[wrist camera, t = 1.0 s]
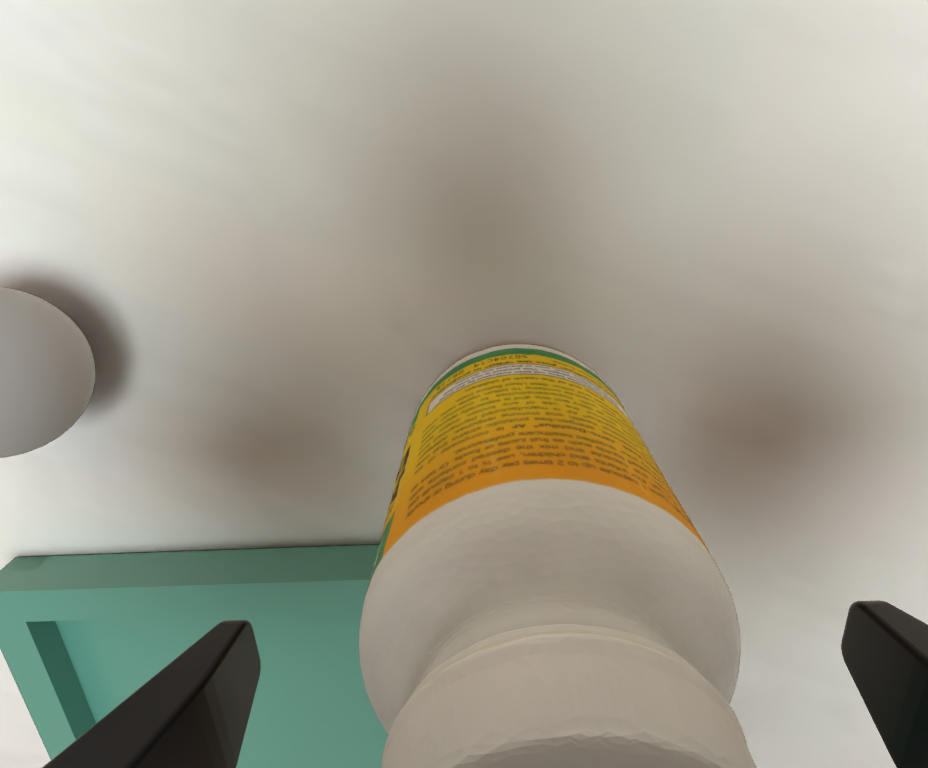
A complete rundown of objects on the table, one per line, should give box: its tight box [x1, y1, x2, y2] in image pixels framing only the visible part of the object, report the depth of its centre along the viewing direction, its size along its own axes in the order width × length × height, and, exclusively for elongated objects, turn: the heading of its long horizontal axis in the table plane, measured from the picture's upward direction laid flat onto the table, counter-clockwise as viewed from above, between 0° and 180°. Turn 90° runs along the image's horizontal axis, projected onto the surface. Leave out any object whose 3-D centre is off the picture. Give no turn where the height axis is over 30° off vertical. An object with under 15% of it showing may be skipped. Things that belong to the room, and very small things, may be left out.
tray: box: [0, 545, 389, 768], centre depth 17 cm, size 12×12×1 cm
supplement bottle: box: [359, 344, 756, 768], centre depth 10 cm, size 5×5×10 cm
